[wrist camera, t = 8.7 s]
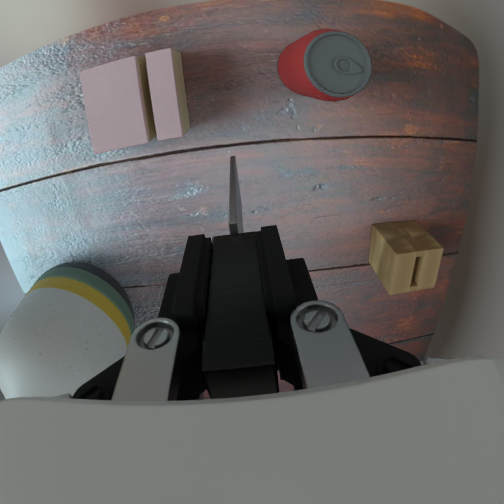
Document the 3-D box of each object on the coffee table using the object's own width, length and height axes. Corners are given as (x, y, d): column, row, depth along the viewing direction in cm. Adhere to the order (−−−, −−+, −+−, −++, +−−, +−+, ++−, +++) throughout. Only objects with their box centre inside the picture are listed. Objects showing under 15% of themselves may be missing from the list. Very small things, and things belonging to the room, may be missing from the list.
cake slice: (180, 52, 30) (170, 47, 24) (190, 128, 34) (182, 137, 29) (158, 56, 30) (144, 53, 24) (169, 131, 34) (157, 141, 29)
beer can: (328, 101, 33) (369, 112, 23) (272, 89, 32) (290, 93, 22) (339, 48, 30) (384, 39, 20) (282, 35, 29) (305, 15, 19)
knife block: (415, 220, 42) (443, 248, 35) (409, 256, 45) (434, 287, 38) (371, 224, 42) (396, 254, 35) (368, 261, 45) (389, 295, 38)
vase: (71, 338, 50) (26, 452, 29) (28, 258, 41) (-53, 372, 20) (155, 333, 49) (128, 471, 29) (119, 242, 41) (46, 387, 20)
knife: (245, 154, 20) (275, 351, 6) (251, 200, 22) (282, 426, 8) (220, 157, 20) (194, 359, 6) (227, 203, 22) (223, 432, 8)
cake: (150, 58, 30) (134, 55, 24) (160, 133, 34) (147, 143, 29) (101, 71, 30) (79, 71, 24) (113, 142, 34) (94, 154, 29)
